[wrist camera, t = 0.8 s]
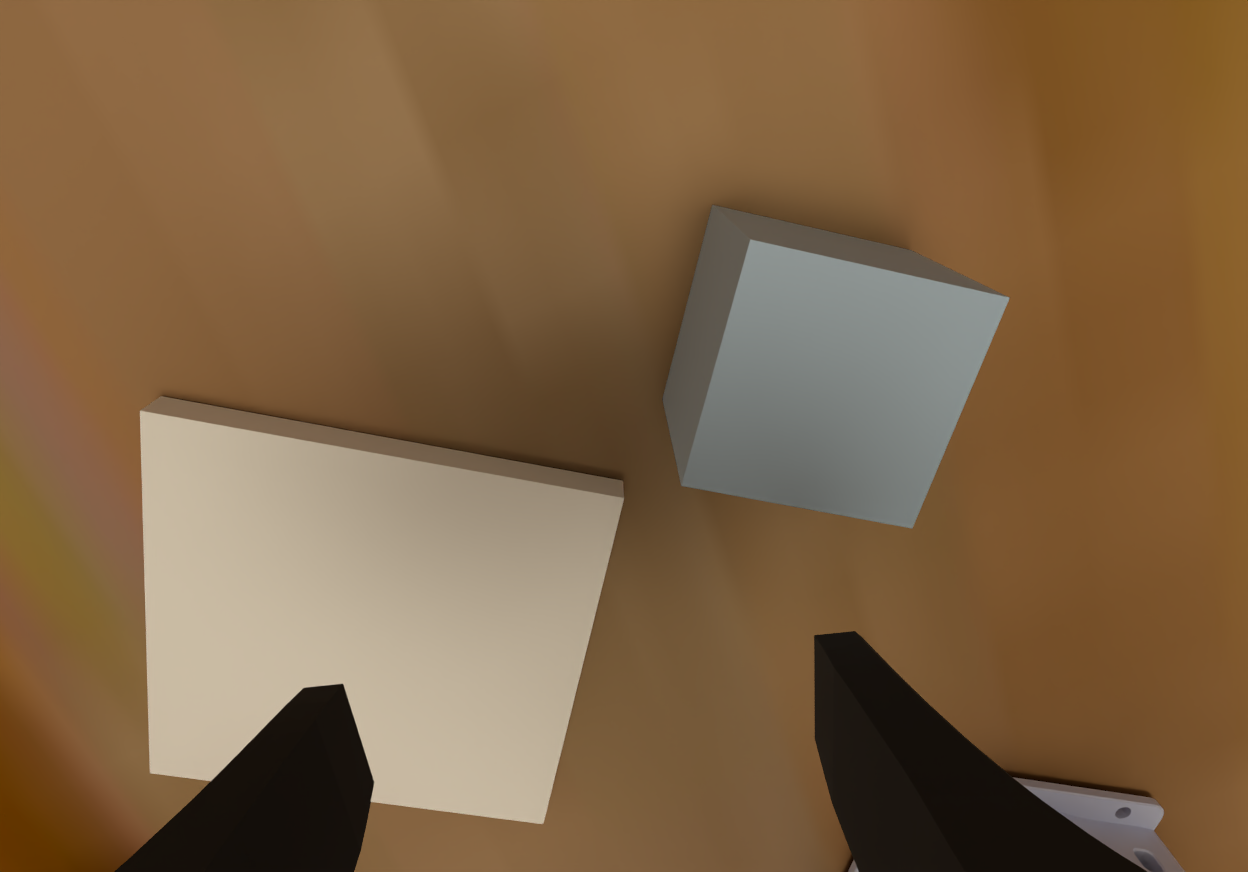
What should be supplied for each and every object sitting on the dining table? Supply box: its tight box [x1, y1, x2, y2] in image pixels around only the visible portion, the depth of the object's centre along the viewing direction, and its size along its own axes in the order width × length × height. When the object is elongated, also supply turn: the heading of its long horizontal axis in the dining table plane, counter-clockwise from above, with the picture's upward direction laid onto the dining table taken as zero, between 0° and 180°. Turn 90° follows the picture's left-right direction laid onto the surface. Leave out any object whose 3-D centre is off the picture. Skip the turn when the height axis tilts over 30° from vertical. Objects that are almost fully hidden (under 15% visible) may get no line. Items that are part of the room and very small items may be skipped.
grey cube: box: [662, 205, 1009, 528], centre depth 17 cm, size 5×5×5 cm
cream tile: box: [140, 396, 624, 824], centre depth 22 cm, size 12×12×1 cm
